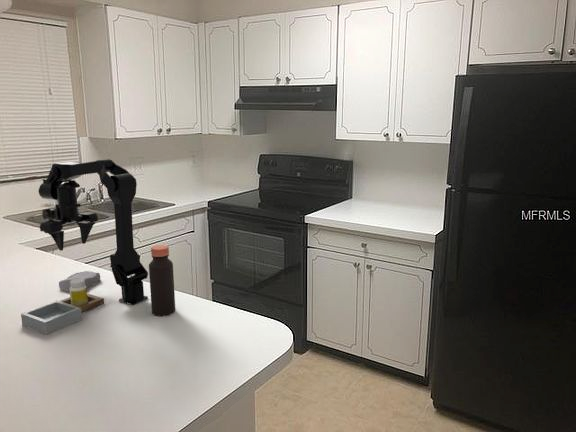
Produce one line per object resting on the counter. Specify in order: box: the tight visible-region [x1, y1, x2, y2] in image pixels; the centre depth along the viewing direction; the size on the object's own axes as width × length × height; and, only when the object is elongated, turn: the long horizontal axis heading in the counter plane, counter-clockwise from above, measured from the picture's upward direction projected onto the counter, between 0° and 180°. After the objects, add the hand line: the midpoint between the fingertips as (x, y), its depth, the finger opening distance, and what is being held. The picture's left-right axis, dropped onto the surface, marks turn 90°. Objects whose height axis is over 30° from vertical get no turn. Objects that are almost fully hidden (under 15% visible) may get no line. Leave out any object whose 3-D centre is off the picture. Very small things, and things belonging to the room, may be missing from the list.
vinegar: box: [148, 244, 176, 317], centre depth 139 cm, size 7×7×20 cm
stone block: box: [58, 270, 101, 292], centre depth 163 cm, size 12×5×10 cm
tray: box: [20, 300, 83, 335], centre depth 134 cm, size 11×11×4 cm
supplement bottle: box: [69, 279, 88, 307], centre depth 144 cm, size 5×5×8 cm
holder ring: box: [59, 293, 105, 314], centre depth 145 cm, size 10×10×2 cm
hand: (72, 246), depth 159 cm, fingers open, 9 cm apart
